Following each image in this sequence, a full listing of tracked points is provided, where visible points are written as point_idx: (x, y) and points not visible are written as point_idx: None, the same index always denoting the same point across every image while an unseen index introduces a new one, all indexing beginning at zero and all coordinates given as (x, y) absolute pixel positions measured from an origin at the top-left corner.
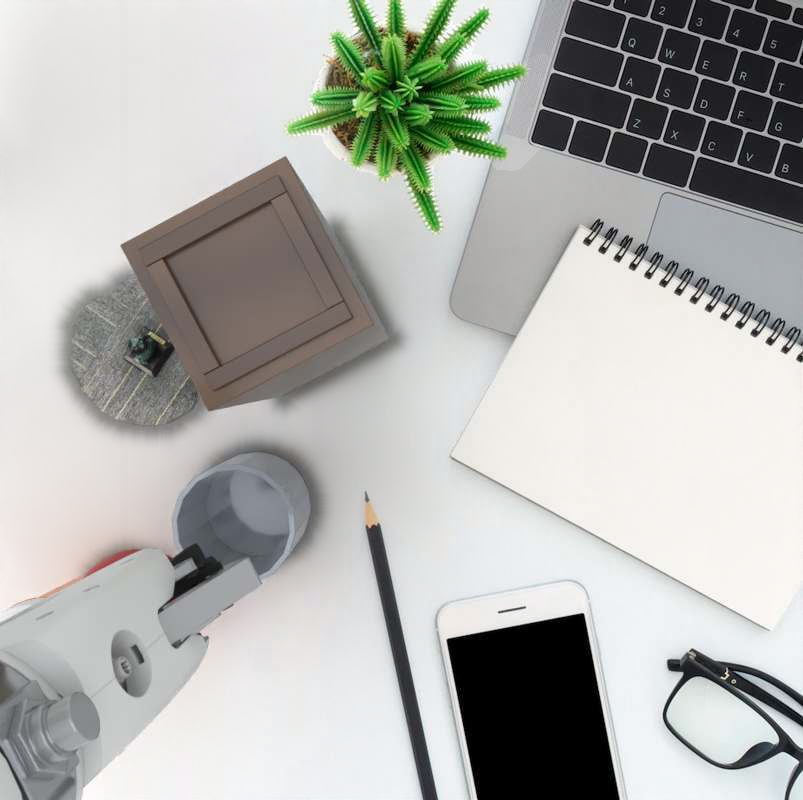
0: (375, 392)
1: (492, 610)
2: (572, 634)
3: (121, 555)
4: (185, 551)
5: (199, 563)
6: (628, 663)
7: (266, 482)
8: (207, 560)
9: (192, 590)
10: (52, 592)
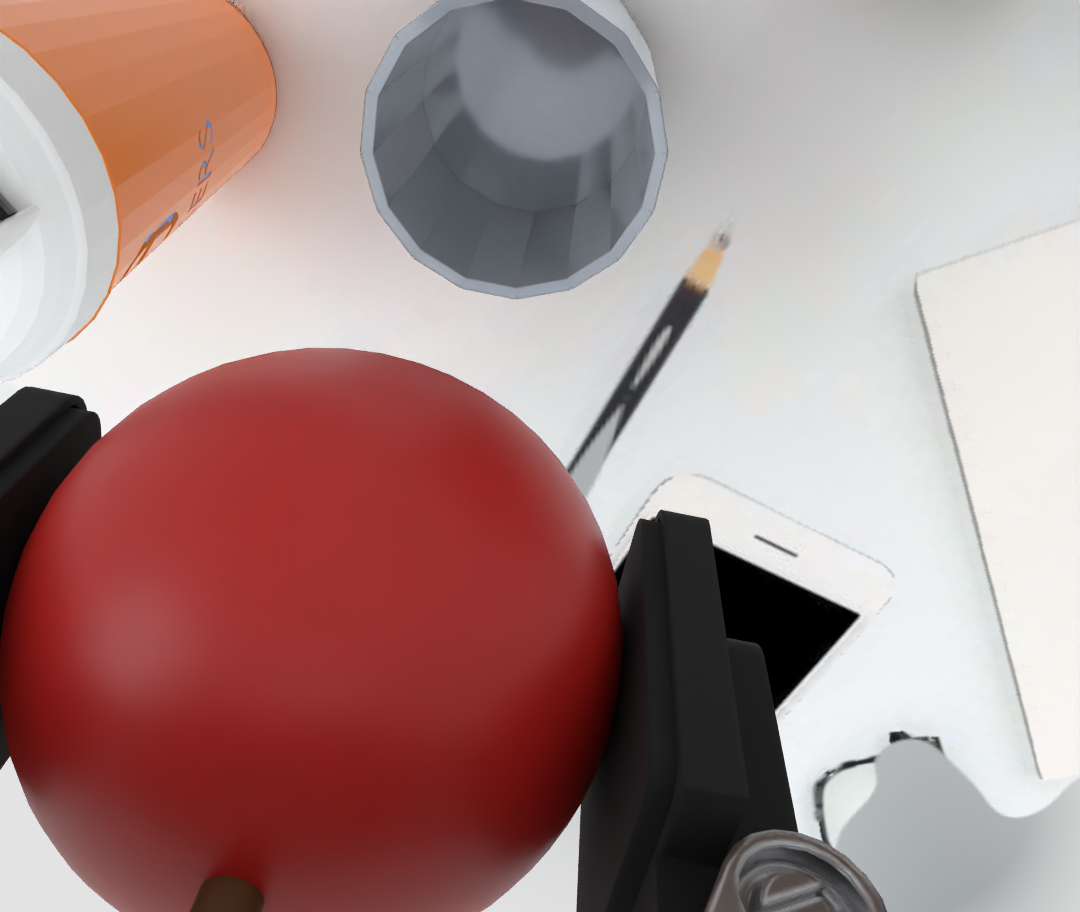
0: (911, 63)
1: (749, 528)
2: (819, 627)
3: (447, 457)
4: (723, 627)
5: (742, 711)
6: (849, 701)
7: (586, 71)
8: (770, 706)
9: None
10: (25, 10)
